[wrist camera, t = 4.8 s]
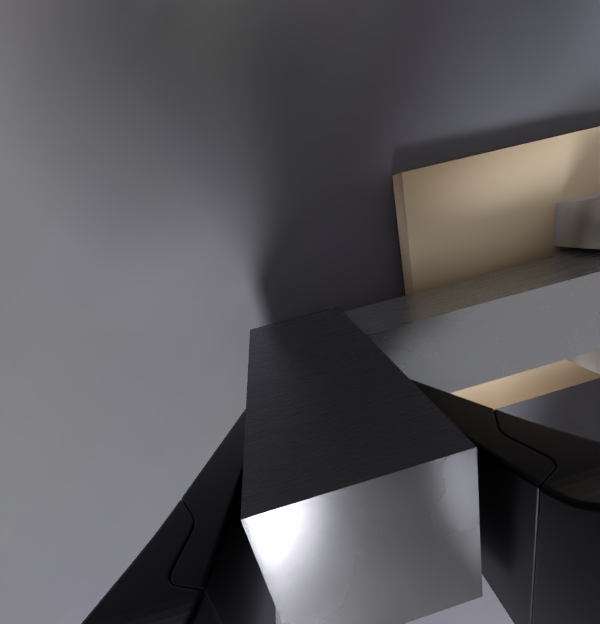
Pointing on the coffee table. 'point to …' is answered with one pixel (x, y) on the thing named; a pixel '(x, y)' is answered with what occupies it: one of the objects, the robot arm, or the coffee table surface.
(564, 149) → the rail
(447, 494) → the grey metal bar
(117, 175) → the coffee table surface
